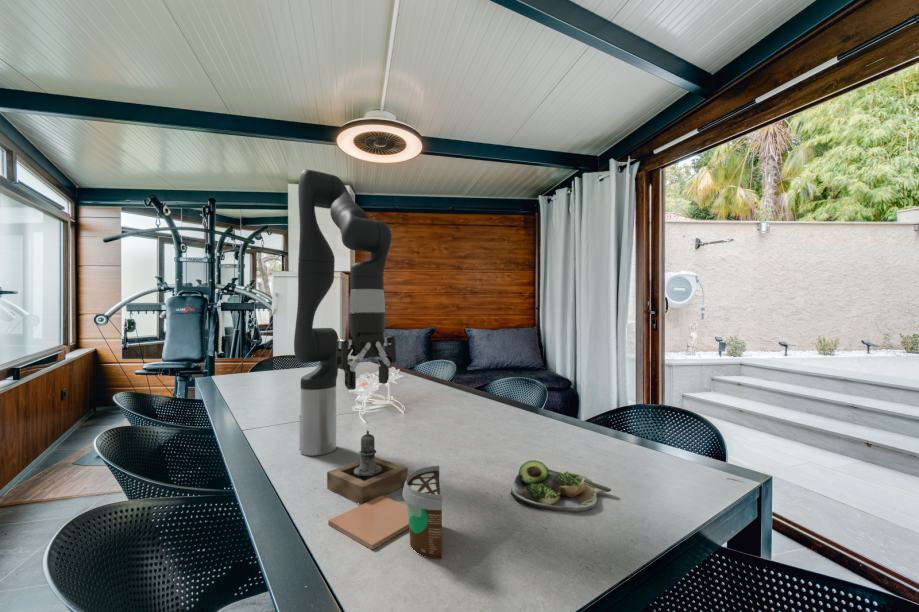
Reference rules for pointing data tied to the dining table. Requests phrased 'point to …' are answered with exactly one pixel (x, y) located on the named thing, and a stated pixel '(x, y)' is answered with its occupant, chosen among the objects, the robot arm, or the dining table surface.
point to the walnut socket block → (370, 489)
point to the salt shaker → (367, 459)
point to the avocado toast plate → (553, 488)
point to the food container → (424, 511)
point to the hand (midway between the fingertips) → (367, 386)
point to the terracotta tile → (373, 521)
